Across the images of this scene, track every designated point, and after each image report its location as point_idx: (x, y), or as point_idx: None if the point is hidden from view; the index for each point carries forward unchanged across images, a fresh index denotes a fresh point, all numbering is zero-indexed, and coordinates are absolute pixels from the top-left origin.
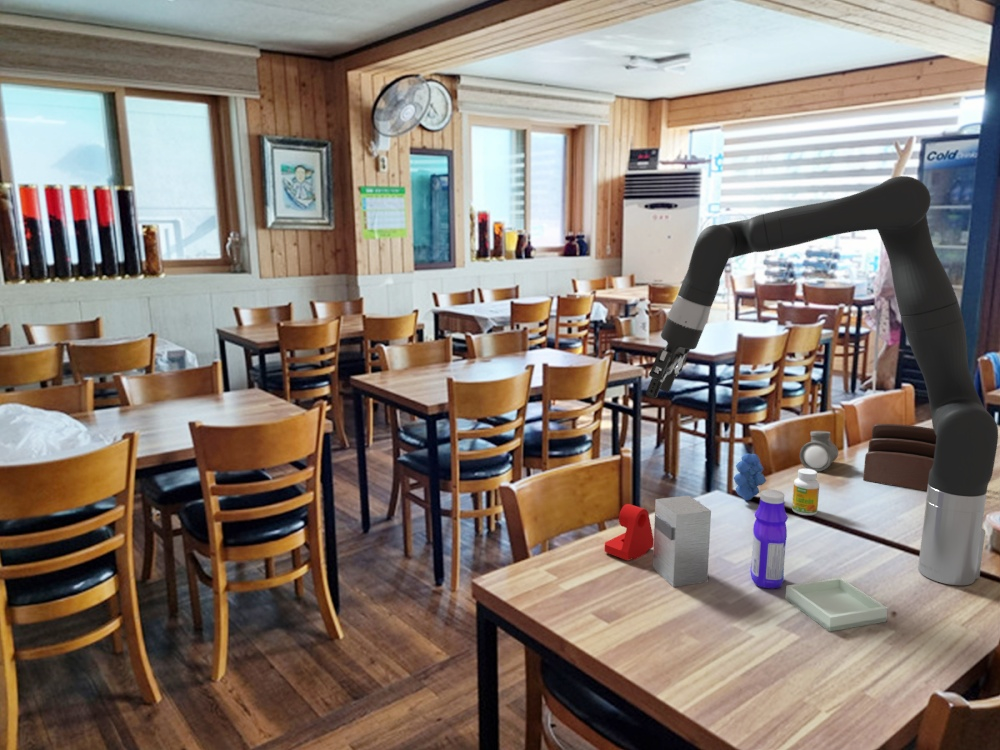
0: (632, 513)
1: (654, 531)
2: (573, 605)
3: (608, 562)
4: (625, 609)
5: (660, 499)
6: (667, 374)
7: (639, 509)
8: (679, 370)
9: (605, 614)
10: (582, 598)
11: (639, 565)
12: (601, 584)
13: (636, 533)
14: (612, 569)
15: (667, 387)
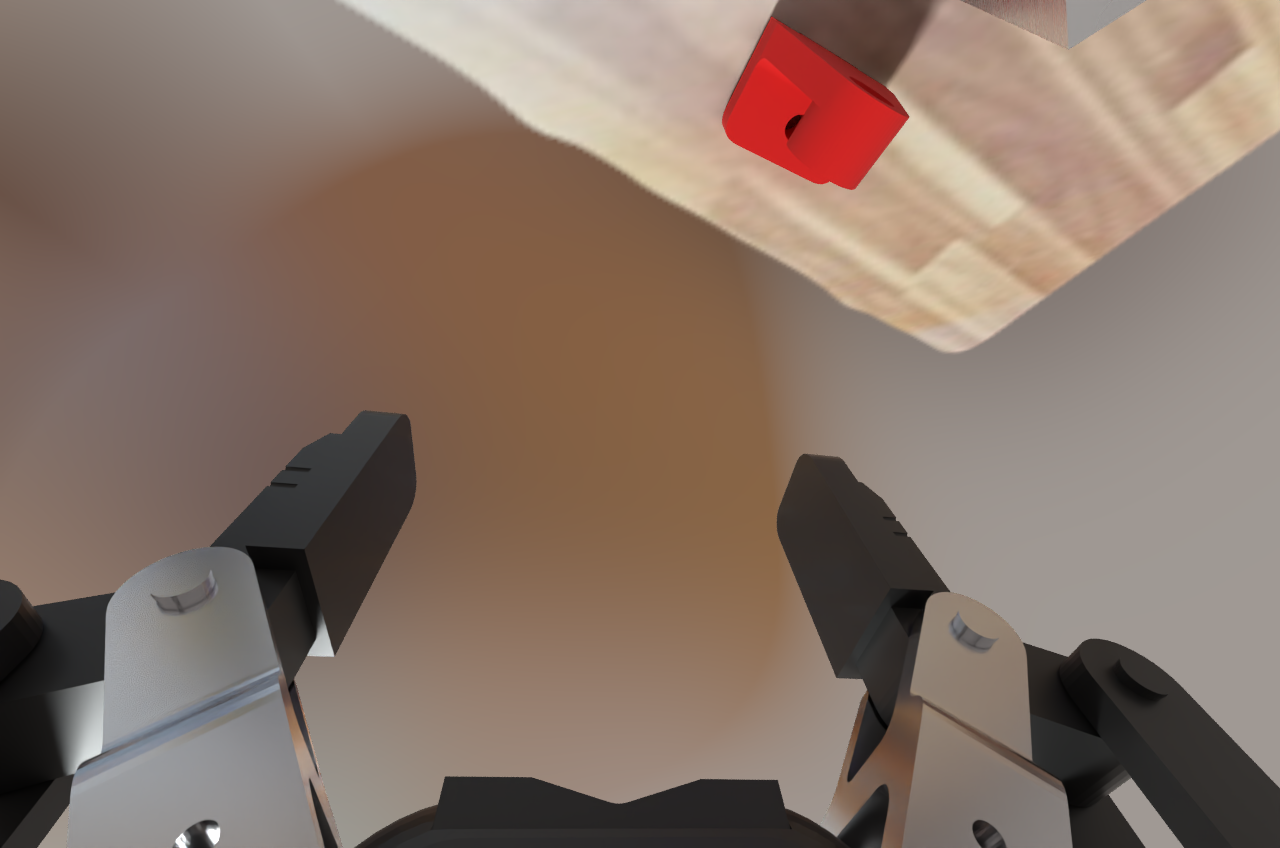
0: (889, 140)
1: (985, 9)
2: (1112, 165)
3: None
4: (1189, 14)
5: (1079, 19)
6: (915, 700)
7: (887, 119)
8: (9, 632)
9: (1194, 69)
10: (1081, 154)
11: (897, 38)
12: (1012, 127)
13: (880, 92)
14: (921, 120)
15: (390, 461)
